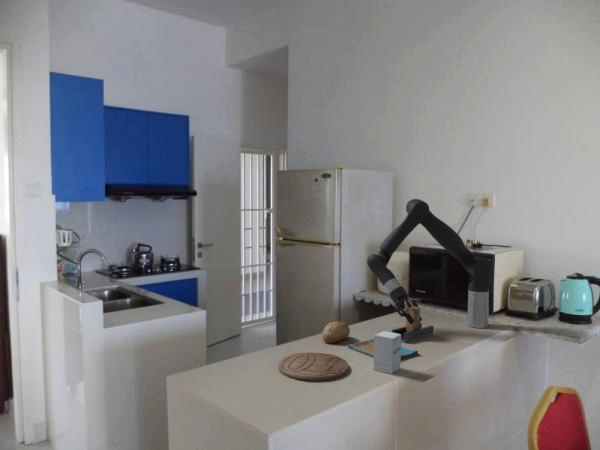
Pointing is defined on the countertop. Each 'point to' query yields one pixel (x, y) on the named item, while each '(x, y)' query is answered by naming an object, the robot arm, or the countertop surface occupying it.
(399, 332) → the floor track
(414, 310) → the tan wooden pillar block
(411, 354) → the dish towel
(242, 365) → the countertop surface
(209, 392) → the countertop surface
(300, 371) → the trivet
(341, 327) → the bread roll
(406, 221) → the robot arm
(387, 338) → the supplement box
